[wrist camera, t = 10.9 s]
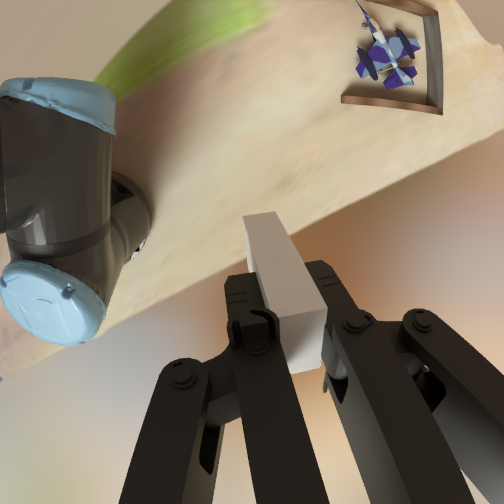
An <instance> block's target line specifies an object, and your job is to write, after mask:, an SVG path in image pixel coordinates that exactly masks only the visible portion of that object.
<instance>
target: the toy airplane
mask: <svg viewBox="0 0 504 504" xmlns="http://www.w3.org/2000/svg"><path fill="white" fill-rule="evenodd" d="M356 1H357V0H356ZM357 3H358V2H357ZM358 4H359V3H358ZM359 6H360V5H359ZM360 8H361V9H362V7H361V6H360ZM362 11H363V13H364V15H365V18H366V20H367V23H368V25H366V24H362V27H363V28H364V29H367V28H368V27H367V26H369V29H370V31H371V33H372V36H373V39H374V41H375V42H374V44H373V45H372V47H371V48H370V49H369V51H368V52H367V53H365V51H364V50H363V49H360V48H359V47H358V46H357V47H358V50H357V53H358V55H359V57H360V59H361V62H360V63H359V64H358V66H357V67H356V70H357V72H358V74H359V76H360V77H361V78H364V77H366V76H368V75H370V76H371V77H372V78H373V80H375V81H376V80H378V75H377V72H378V73H379V74H383V72H384V71H387V70H389V69H392V68H394V70H393V71H392V73H391V74H390V75H389V76H388V77H387V78H386V80H385V81H384V82H383V83H384V85H385V87H386V89H387V90H390V89H393V88H396V87H399V86H402V85H414V83H413V80H412V78H413V77H414V76H416V75H417V72H416V69H415V67H414V66H411V67H399V64H400V63H401V62H398V61H397V60H398V59H400V58H402V57H404V56H406V55H408V56H409V57H410V58H411V59H414V58H415V56H414V52H415V51H417V50H419V49H420V48H421V47H420V45H419V43H418V41H417V40H416V39H409V38H406V36H405V35H404V34H403V32H402V31H401V30H399V29H398V28H397V27H396V29H397V31H395V32H396V34H397V36H398V37H386V36H384V35H383V32H382V30H381V29H380V28H379V25H378V24H377V23H376V22H375V21H374V20H373V19H372V18H370V17H369V15H368V14H367V13H366V12H365V11H364V10H363V9H362ZM389 64H392V65H393V67H391V68H389V69H386V70H384V71H382V70H381V68H383V67H385V66H387V65H389ZM376 71H377V72H376Z"/></svg>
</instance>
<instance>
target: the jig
mask: <svg viewBox="0 0 504 504" xmlns="http://www.w3.org/2000/svg"><path fill="white" fill-rule="evenodd" d="M366 1H370V2H374V3H378V4H382V5H386V6H390V7H393V8H396V9H400V10H403V11H406V12H409V13H412V14H415V15H418V16H421V17H423V23H424V32H425V43H426V59H427V105H421V104H415V103H409V102H402V101H395V100H387V99H379V98H369V97H358V96H344V95H341V103H345V104H356V105H369V106H380V107H389V108H398V109H406V110H413V111H419V112H426V113H432V114H437V115H443V59H442V44H441V33H440V24H439V16H438V11H436V10H433V9H431V8H428V7H426V6H423V5H420V4H418V3H415V2H412V1H409V0H366Z"/></svg>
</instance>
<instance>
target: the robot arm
mask: <svg viewBox="0 0 504 504" xmlns="http://www.w3.org/2000/svg"><path fill="white" fill-rule="evenodd" d="M115 108H116V99H115V96H114V94H113V92H112V91H111V90H110V89H109V88H107V87H106V86H104V85H101V84H98V83H94V82H89V81H83V80H76V79H68V78H54V77H38V78H13V79H8V80H6V81H4V82H3V83H2V84H1V86H0V234H2V233H5V232H6V236H7V242H8V247H9V251H10V256H11V262H10V263H9V264H8V265H7V266H5V268H4V269H3V273H2V277H1V278H0V296H1V299H2V301H3V304H4V306H5V307H6V309H7V311H8V312H9V314H10V315H11V316H12V317H13V319H14V320H15V321H16V322H17V323H18V324H19V325H20V326H22V327H23V328H24V329H26V330H27V331H29V332H30V333H31V334H32V335H34V336H36V337H38V338H40V339H42V340H44V341H46V342H49V343H52V344H56V345H61V346H77V345H81V344H84V343H85V342H86V341H89V340H91V339H92V338H93V337H94V336H95V335H96V333H97V331H98V329H99V327H100V325H101V323H102V322H103V320H104V319H105V317H106V311H107V307H108V304H109V302H110V299H111V296H112V293H113V290H114V288H115V285H116V282H117V280H118V277H119V275H120V272H121V270H122V267H123V265H125V264H126V263H127V262H129V261H130V260H131V259H133V258H134V257H135V256H136V255H137V254H138V253H139V252H140V250H141V249H142V248H143V246H144V244H145V242H146V239H147V236H148V234H149V230H150V225H151V216H150V210H149V206H148V203H147V201H146V199H145V197H144V195H143V193H142V192H141V190H140V189H139V188H138V187H137V186H136V185H135V184H134V183H133V182H132V181H131V180H129V179H128V178H126V177H124V176H122V175H120V174H118V173H115V172H112V154H113V140H114V137H116V131H115V129H114V122H115ZM242 219H243V228H244V236H245V245H246V254H247V262H248V269H249V273H245V274H238V275H232V276H228V279H227V280H226V283H225V285H224V289H225V297H226V305H227V313H228V323H227V333H228V337H229V345H228V346H227V348H226V350H225V351H223V352H222V353H221V354H220V355H218V356H217V357H215V358H213V359H210V360H208V361H206V362H203V363H201V362H200V361H198V360H196V359H191V358H181V359H177V360H174V361H172V362H170V363H169V364H168V365H166V366H165V367H164V368H163V370H162V371H161V373H160V375H159V377H158V380H157V383H156V386H155V389H154V392H153V395H152V398H151V401H150V404H149V406H148V409H147V412H146V415H145V419H144V421H143V424H142V428H141V431H140V434H139V437H138V440H137V443H136V446H135V449H134V453H133V456H132V459H131V463H130V466H129V469H128V473H127V476H126V479H125V482H124V486H123V489H122V493H121V496H120V500H119V504H212V501H213V494H214V488H215V483H216V476H217V470H218V464H219V458H220V452H221V446H222V440H223V434H224V428H225V424H226V423H228V422H231V421H233V420H235V419H237V418H239V417H241V419H242V425H243V431H244V437H245V443H246V448H247V455H248V460H249V466H250V472H251V477H252V483H253V488H254V493H255V498H256V503H257V504H330V503H329V500H328V496H327V493H326V490H325V487H324V483H323V480H322V477H321V473H320V470H319V467H318V463H317V460H316V457H315V453H314V450H313V447H312V444H311V441H310V437H309V434H308V431H307V427H306V424H305V421H304V417H303V414H302V411H301V407H300V404H299V401H298V398H297V394H296V391H295V388H294V384H293V381H292V378H291V375H290V374H294V373H298V372H303V371H307V370H311V369H316V368H320V365H321V359H322V360H323V362H324V364H325V367H326V372H325V378H324V383H323V393H325V392H327V388H329V391H330V393H331V396H332V399H333V401H334V404H335V407H336V409H337V412H338V415H339V417H340V420H341V423H342V425H343V428H344V431H345V433H346V436H347V438H348V441H349V444H350V447H351V450H352V452H353V455H354V458H355V461H356V463H357V466H358V469H359V472H360V475H361V477H362V480H363V483H364V486H365V488H366V491H367V494H368V497H369V500H370V503H371V504H475V501H474V499H473V497H472V494H471V492H470V490H469V488H468V485H467V483H466V481H465V479H464V476H463V474H462V472H461V470H462V471H463V472H464V473H465V475H466V476H467V477H468V478H469V479H470V480H471V481H472V483H473V484H474V485H475V486H476V487H477V489H478V490H479V491H480V492H481V493H482V495H483V496H484V497H485V498H486V499H487V501H488V502H489V503H490V504H504V375H503V374H502V373H501V372H500V371H498V369H496V368H495V367H494V366H493V365H492V364H491V363H490V362H489V361H488V360H487V359H486V358H485V357H484V356H483V355H481V354H480V353H479V352H478V351H477V350H476V349H475V348H474V347H473V346H471V345H470V344H469V343H468V342H467V341H466V340H464V338H462V337H461V336H460V335H459V334H458V333H457V332H456V331H454V330H453V329H452V328H451V327H450V326H449V325H447V324H446V323H445V322H444V321H442V320H441V319H440V318H439V317H438V316H437V315H435V314H434V313H432V312H431V311H429V310H425V309H412V310H410V311H408V312H407V313H406V314H405V315H404V317H403V321H377V320H376V319H375V318H374V317H373V316H372V315H371V314H370V313H368V312H366V311H364V310H361V309H358V307H357V306H356V304H355V302H354V301H353V299H352V298H351V296H350V295H349V293H348V291H347V290H346V288H345V287H344V285H343V284H342V283H341V281H340V279H339V277H337V274H336V273H335V271H334V270H333V268H332V267H331V266H330V265H328V264H327V263H325V262H324V261H322V260H318V261H312V262H306V263H303V261H302V259H301V257H300V255H299V253H298V251H297V250H296V248H295V246H294V244H293V242H292V241H291V239H290V237H289V235H288V233H287V232H286V230H285V228H284V226H283V225H282V223H281V221H280V219H279V217H278V216H277V214H276V212H268V213H261V214H254V215H247V216H242ZM425 365H426V366H427V367H428V368H429V369H427V368H426V367H425ZM460 469H461V470H460Z"/></svg>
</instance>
